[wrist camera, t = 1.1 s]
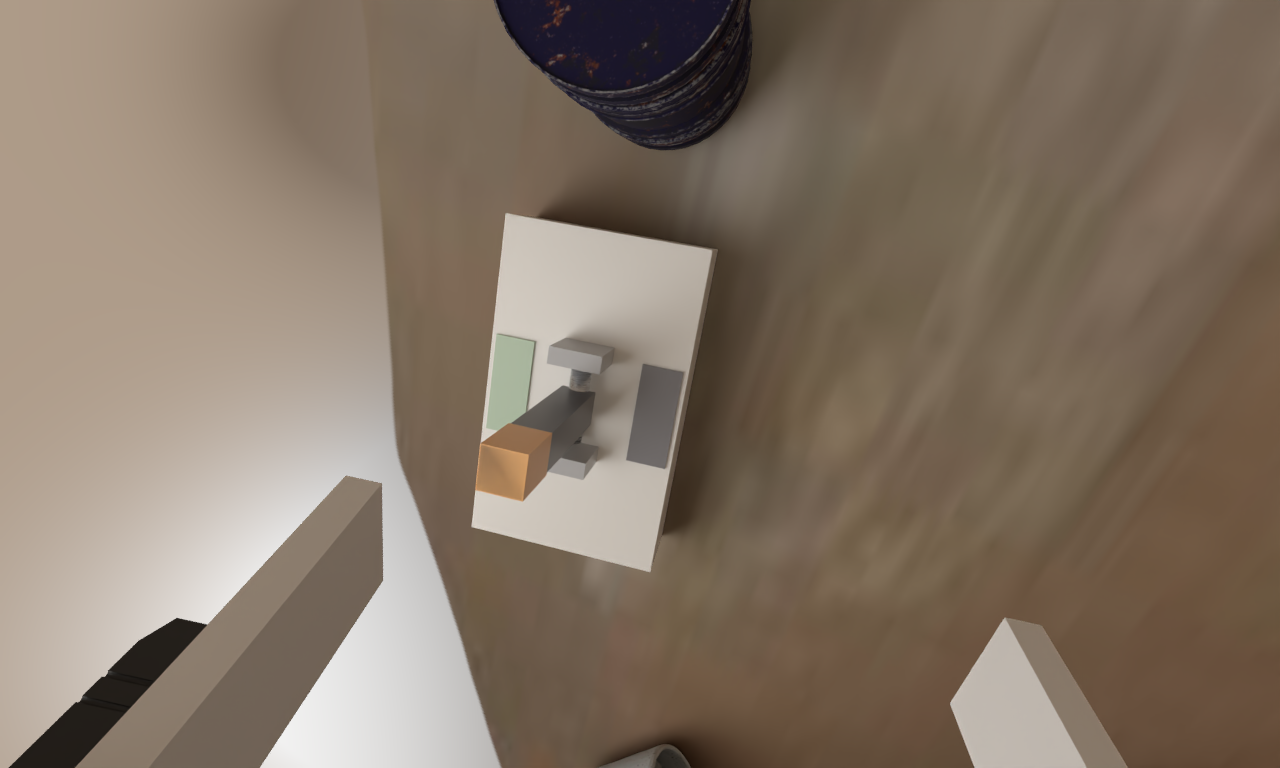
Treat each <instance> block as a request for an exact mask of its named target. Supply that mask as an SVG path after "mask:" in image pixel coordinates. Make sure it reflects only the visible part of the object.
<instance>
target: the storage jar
mask: <svg viewBox="0 0 1280 768" xmlns="http://www.w3.org/2000/svg"><path fill="white" fill-rule="evenodd" d="M750 2H751V0H494V3H495V6H496V9H497V12H498V15H499V17H500V19H501V21H502V23H503V25H504V27H505V29H506V31H507V33H508V34H509V36H510V37H511V39H512V40H513V42H514V43H515V44H516V46H517V47H518V49H519V50H520V51H521V52H522V53H523V54H524V55H525V56H526V57H527V59H528V60H529V61H530V62H531V63H532V64H533V65H535V66H536V67H537V68H538V69H540V70H541V71H542V72H543V73H544V74H545V75H546V76H547V77H548V79H549V80H550V81H551V82H552V83H553V84H555V85H556V86H557V87H558V88H560V89H561V90H562V91H564V92H565V93H566V94H567V95H568V96H569V97H571V98H572V99H573V100H575V101H576V102H577V103H579V104H580V105H581V106H583V107H585V108H587V109H589V110H591V111H592V112H593V113H594V114H595V115H596V116H597V117H598V118H599V119H600V120H601V121H602V122H603V123H604V124H605V125H606V126H608V127H609V128H610V129H612V130H613V131H614V132H616V133H617V134H619V135H621V136H623V137H624V138H626V139H628V140H630V141H632V142H633V143H635V144H637V145H640V146H643V147H646V148H649V149H656V150H676V149H681V148H686V147H689V146H692V145H694V144H697V143H699V142H701V141H703V140H704V139H706V138H708V137H710V136H711V135H712V134H713V133H715V132H716V131H717V130H718V129H720V128H721V127H722V125H723V124H724V123H725V122H726V121H727V120H728V119H729V118H730V116H731V115H732V114H733V112H734V111H735V109H736V108H737V106H738V104H739V102H740V100H741V98H742V96H743V94H744V91H745V88H746V85H747V82H748V76H749V71H750V61H751V56H752V26H751V17H750V13H749V8H750Z"/></svg>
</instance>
